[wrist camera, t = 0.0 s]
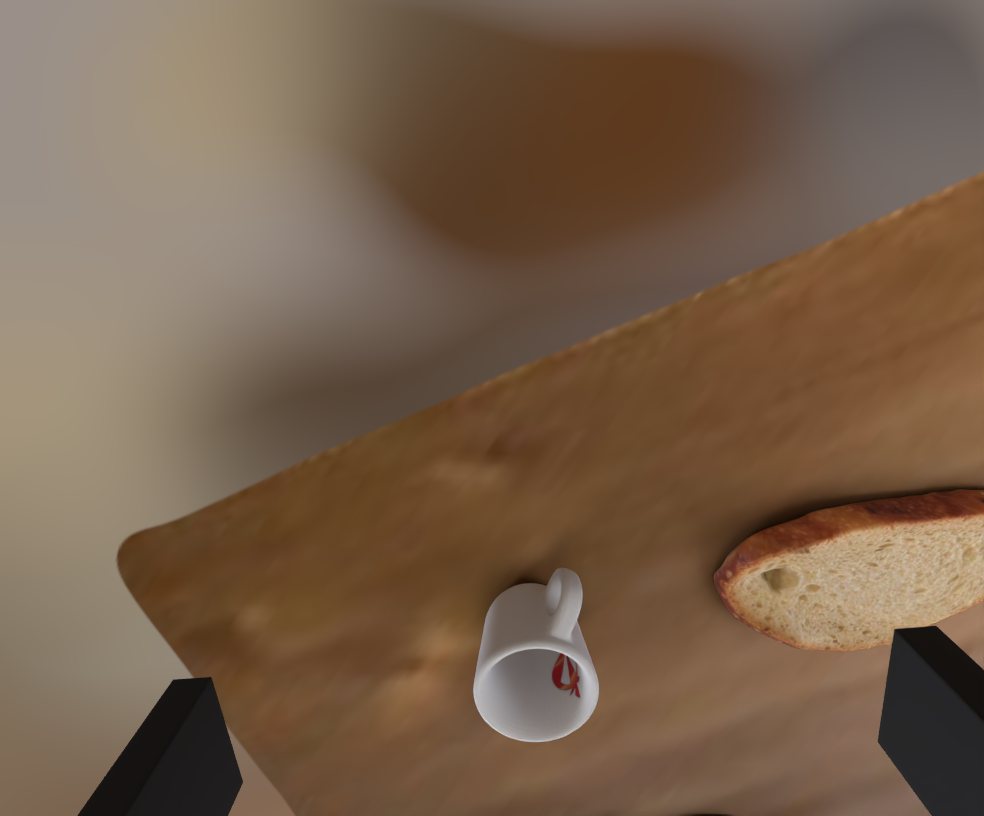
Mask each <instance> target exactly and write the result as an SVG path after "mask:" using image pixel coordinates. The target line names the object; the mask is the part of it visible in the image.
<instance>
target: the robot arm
mask: <svg viewBox="0 0 984 816" xmlns="http://www.w3.org/2000/svg"><path fill="white" fill-rule="evenodd" d="M878 743H879V744H880V745H881V747H882V748H883V750H884V751H885V752H886V754H887V755H888V756H889V758H890V759H891V760H892V762H893V763H894V765H895V766H896V767H897V769H898V770H899V771H900V773H901V774H902V776H903V777H904V778H905V780H906V781H907V782H908V784H909V785H910V787H911V788H912V789H913V791H914V792H915V793H916V795H917V796H918V797H919V799H920V800H921V802H922V803H923V804H924V806H925V807H926V808H927V810H928V811H929V813H930V814H931V815H932V816H984V670H983V669H982V668H981V667H980V666H979V665H978V664H977V663H976V662H975V661H973V660H972V659H971V658H970V657H969V656H968V655H967V654H966V653H965V652H964V651H963V650H962V649H960V648H959V647H958V646H957V645H956V644H955V643H954V642H953V641H952V640H951V639H950V638H949V637H947V636H946V635H945V634H944V633H943V632H942V631H941V630H940V629H939V628H938V627H937V626H928V627H914V628H900V629H894V634H893V641H892V648H891V655H890V662H889V668H888V675H887V682H886V689H885V696H884V702H883V709H882V716H881V723H880V730H879V736H878ZM242 783H243V781H242V777H241V774H240V770H239V767H238V764H237V760H236V758H235V754H234V751H233V747H232V744H231V741H230V737H229V734H228V731H227V727H226V724H225V721H224V717H223V714H222V711H221V708H220V704H219V701H218V698H217V694H216V691H215V688H214V684H213V681H212V678H211V677H205V678H191V679H177V680H173V681H172V682H171V684H170V685H169V687H168V688H167V689H166V691H165V692H164V694H163V695H162V696H161V698H160V699H159V701H158V702H157V704H156V705H155V706H154V708H153V709H152V711H151V712H150V713H149V715H148V716H147V718H146V719H145V721H144V722H143V723H142V725H141V726H140V728H139V729H138V730H137V732H136V733H135V735H134V736H133V738H132V739H131V740H130V742H129V743H128V745H127V746H126V747H125V749H124V750H123V752H122V753H121V755H120V756H119V757H118V759H117V760H116V762H115V763H114V765H113V766H112V767H111V769H110V770H109V772H108V773H107V775H106V776H105V777H104V779H103V780H102V782H101V783H100V784H99V786H98V787H97V789H96V790H95V792H94V793H93V794H92V796H91V797H90V799H89V800H88V801H87V803H86V804H85V806H84V807H83V809H82V810H81V811H80V813H79V814H78V816H228V814H229V812H230V810H231V807H232V805H233V803H234V801H235V799H236V797H237V794H238V792H239V790H240V788H241V785H242Z"/></svg>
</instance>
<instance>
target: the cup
mask: <svg viewBox="0 0 984 816" xmlns="http://www.w3.org/2000/svg"><path fill="white" fill-rule="evenodd" d="M582 596H583V593H582V585H581V582H580V579H579V577H578V575H577V574H576V573H575V572H574V571H572V570H570V569H567V568H558V569H557V570H556V571H555V572H554V573H553V575H552V576H551V578H550V580H549V582H548V584H547V586H545V585H542V584H536V583H525V584H519V585H516V586H513V587H511V588H509V589H507V590H505V591H504V592H502V593H501V594H500V595H499V596H498V597H497V598H496V599H495V600H494V602H493V603H492V605H491V606H490V609H489V611H488V613H487V616H486V620H485V624H484V630H483V635H482V641H481V646H480V652H479V658H478V663H477V669H476V674H475V680H474V699H475V703H476V706H477V709H478V711H479V713H480V714H481V716H482V717H483V719H484V720H485V721H486V722H487V723H488V724H489V725H490V726H491V727H492V728H494V729H495V730H496V731H498V732H499V733H501V734H503V735H505V736H508V737H510V738H513V739H516V740H521V741H527V742H544V741H550V740H555V739H558V738H561V737H564V736H566V735H568V734H570V733H572V732H573V731H575V730H577V729H578V728H579V727H580V726H582V725H583V724H584V723H585V722H586V721H587V720H588V718H589V717H590V716H591V714H592V713H593V711H594V709H595V706H596V704H597V700H598V695H599V684H598V678H597V674H596V672H595V669H594V666H593V663H592V660H591V658H590V655H589V652H588V649H587V647H586V644H585V641H584V638H583V636H582V633H581V630H580V627H579V625H578V622H577V619H578V616H579V613H580V610H581V605H582Z"/></svg>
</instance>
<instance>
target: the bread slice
mask: <svg viewBox="0 0 984 816" xmlns="http://www.w3.org/2000/svg"><path fill="white" fill-rule="evenodd" d="M714 584H715V587H716V588H717V590H718V592H719V595H720V597H721V599H722V601H723V603H724V604H725V606H726V608H727V609H728V610H729V612H730V613H731V614H732V615H733V616H734V617H736V618H737V619H739V620H740V621H741V622H743V623H744V624H746V625H747V626H749V627H751V628H752V629H754V630H756V631H758V632H760V633H762V634H764V635H766V636H768V637H770V638H772V639H774V640H776V641H778V642H781V643H783V644H786V645H789V646H791V647H794V648H798V649H804V650H825V651H852V650H855V649H869V648H872V647H875V646H878V645H886V644H891V643H892V641H893V634H894V629H900V628H914V627H927V626H929V625H930V624H932V623H935V622H938V621H940V620H942V619H944V618H947V617H949V616H952V615H955V614H959V613H961V612H963V611H964V610H966V609H968V608H969V607H971V606H973V605H975V604H977V603H978V602H980V601H982V600H984V490H965V489H957V490H954V491H950V492H931V493H928V494H925V495H914V496H905V497H902V498H889V499H880V500H873V501H867V502H859V503H852V504H847V505H843V506H838V507H833V508H825V509H821V510H818V511H815V512H811V513H808V514H806V515H805V516H803V517H801V518H798V519H795V520H791V521H788V522H786V523H782V524H779V525H776V526H773V527H770V528H767V529H765V530H762V531H760V532H757V533H755V534H753V535H752V536H750V537H748V538H747V539H746V540H744V541H743V542H741V543H740V544H739V545H738V546H737V547H736V548H735V549H733V550H732V551H731V552H730V553H729V555H728V556H727V557H726V559H725V561H724V563H723V565H722V566H721V567H720V568H719V569H718V570H717V571H716V572H715V574H714Z"/></svg>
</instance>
